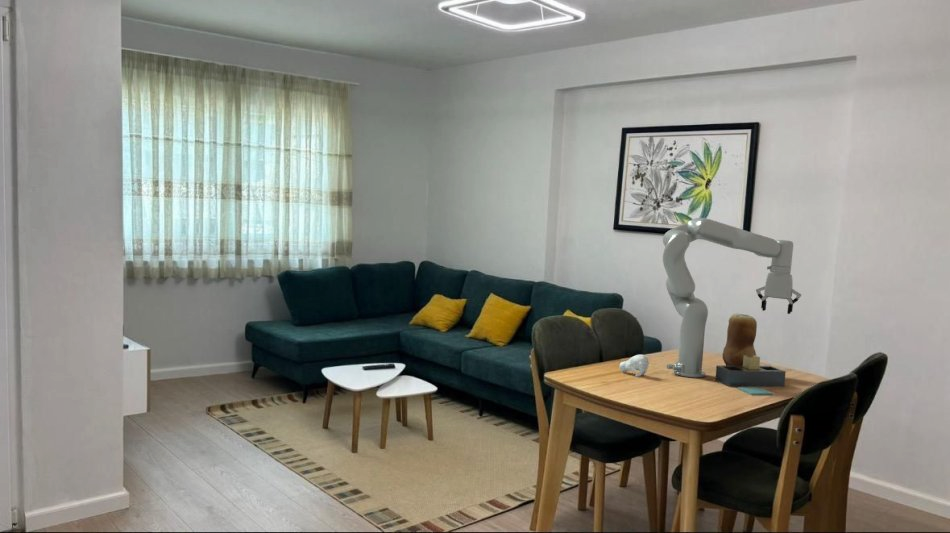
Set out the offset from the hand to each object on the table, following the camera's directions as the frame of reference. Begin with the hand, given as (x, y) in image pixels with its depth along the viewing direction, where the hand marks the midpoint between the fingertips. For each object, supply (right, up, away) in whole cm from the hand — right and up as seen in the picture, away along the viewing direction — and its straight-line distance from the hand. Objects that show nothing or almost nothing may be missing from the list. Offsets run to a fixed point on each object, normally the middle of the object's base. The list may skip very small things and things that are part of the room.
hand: (776, 312), depth 295 cm
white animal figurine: (-60, -25, -4) cm, 65 cm away
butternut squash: (-12, -27, +10) cm, 31 cm away
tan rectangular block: (-14, -28, -9) cm, 33 cm away
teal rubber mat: (-18, -29, -23) cm, 41 cm away
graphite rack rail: (-14, -28, -9) cm, 33 cm away
